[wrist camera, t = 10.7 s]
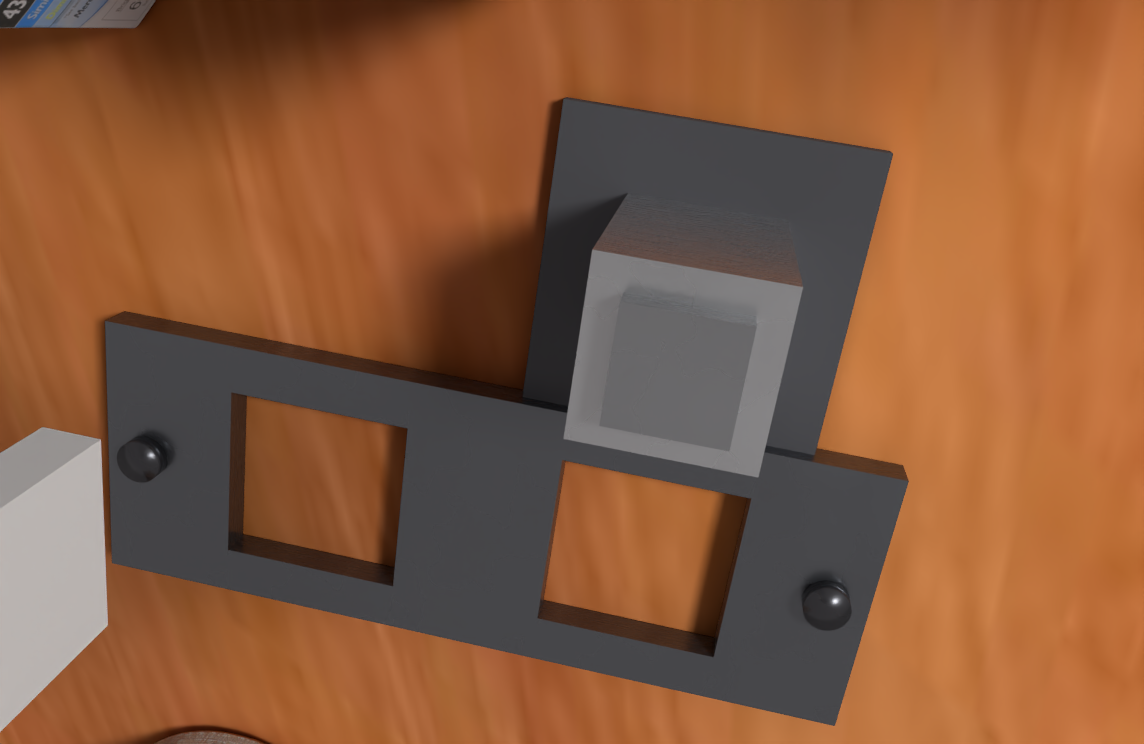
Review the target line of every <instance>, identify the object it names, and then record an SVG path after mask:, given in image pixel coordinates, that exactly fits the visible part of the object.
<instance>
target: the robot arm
mask: <svg viewBox="0 0 1144 744" xmlns="http://www.w3.org/2000/svg"><path fill="white" fill-rule="evenodd" d="M107 626H108V616H107V590H106V563H105V537H104V510H103V484H102V458H101V439H96V438H92V437H87V436H82V435H78V434H73V433H68V432H63V431H59V430H54V429H49V428H44V427H42V428H40V429H39V430H37V431H35V432H34V433H32V434H31V435H29V436H27V437H26V438H24V439H22V440H21V441H19V442H17V443H16V444H14V445H13V446H11V447H9V448H8V449H6V450H4V451H3V452H1V453H0V731H1V730H2V729H4V728H5V727H6V726H7V725H8V724H9V723H10V722H11V721H12V720H13V719H14V718H15V717H16V716H17V715H18V714H19V713H20V712H21V711H22V710H23V709H24V708H25V707H26V706H27V705H28V704H29V703H30V702H31V701H32V700H33V699H34V698H35V697H36V696H37V695H38V694H39V693H40V692H41V691H42V690H43V689H44V688H45V687H46V686H47V685H48V684H49V683H50V682H51V681H52V680H53V679H54V678H55V677H56V676H57V675H58V674H59V673H60V672H61V671H62V670H63V669H64V668H65V667H66V666H67V665H68V664H69V663H70V662H71V661H72V660H73V659H74V658H75V657H76V656H77V655H78V654H79V653H80V652H81V651H82V650H83V649H84V648H85V647H86V646H87V645H88V644H89V643H90V642H91V641H92V640H93V639H94V638H95V637H96V636H97V635H98V634H100V633H101V632H102V631H103V630H104V629H105V628H106V627H107Z"/></svg>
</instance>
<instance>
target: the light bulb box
mask: <svg viewBox="0 0 1144 744" xmlns="http://www.w3.org/2000/svg"><path fill="white" fill-rule="evenodd" d="M155 1H156V0H0V28H135V27H137V26H138V25H139V24H140V22H141V21H142V19H143V18H144V17H145V15H146V14H147V12H148V11H149V9H150V8H151V7H152V5H153V4H154V2H155Z"/></svg>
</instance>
